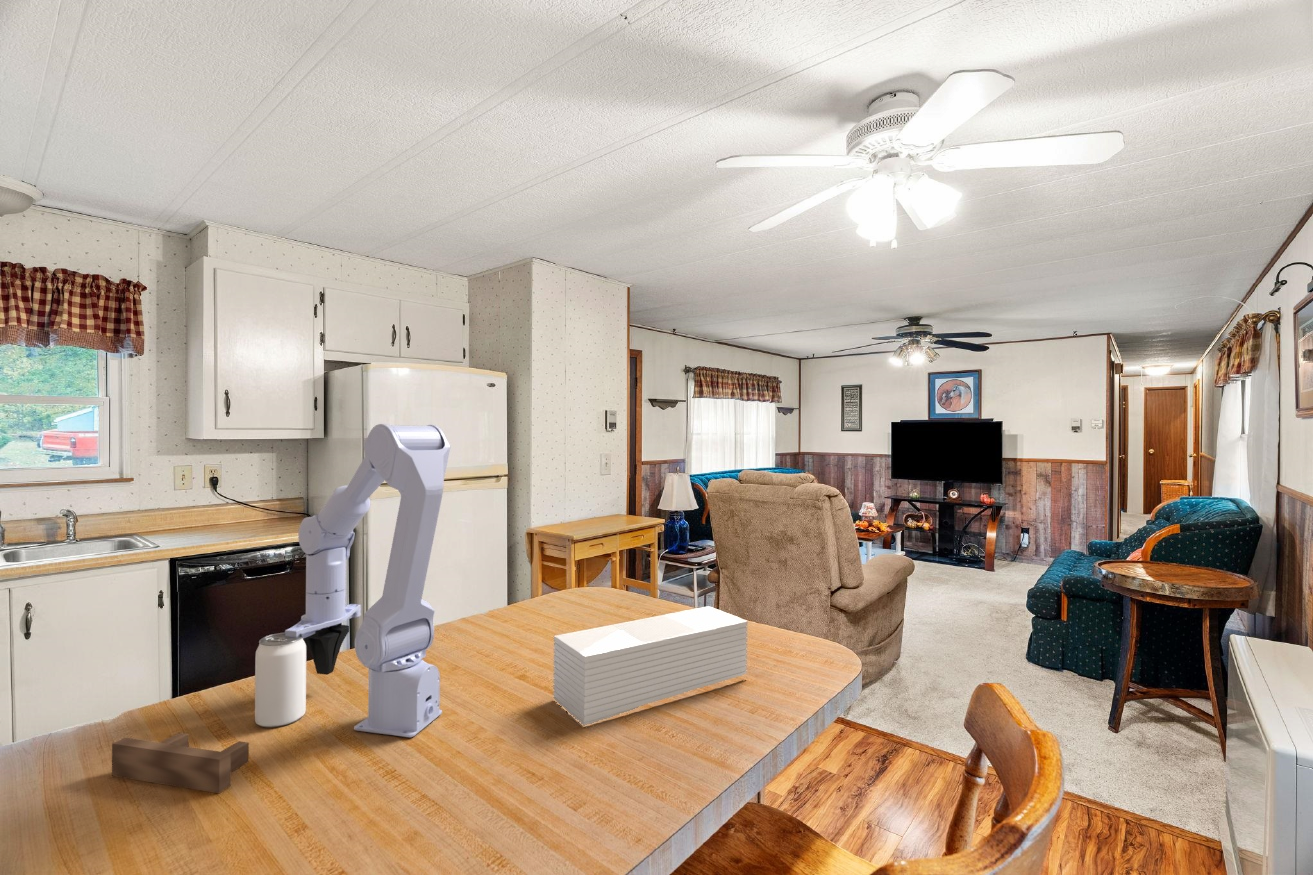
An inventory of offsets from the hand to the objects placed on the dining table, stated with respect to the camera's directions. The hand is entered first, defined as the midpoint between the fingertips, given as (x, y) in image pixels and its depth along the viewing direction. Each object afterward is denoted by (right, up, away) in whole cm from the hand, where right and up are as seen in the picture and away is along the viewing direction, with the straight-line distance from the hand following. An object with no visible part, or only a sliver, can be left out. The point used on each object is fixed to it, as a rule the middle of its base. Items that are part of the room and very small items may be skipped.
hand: (325, 672), depth 100 cm
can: (-2, -4, -9) cm, 10 cm away
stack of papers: (+54, -5, +3) cm, 54 cm away
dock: (-5, -4, -23) cm, 23 cm away
